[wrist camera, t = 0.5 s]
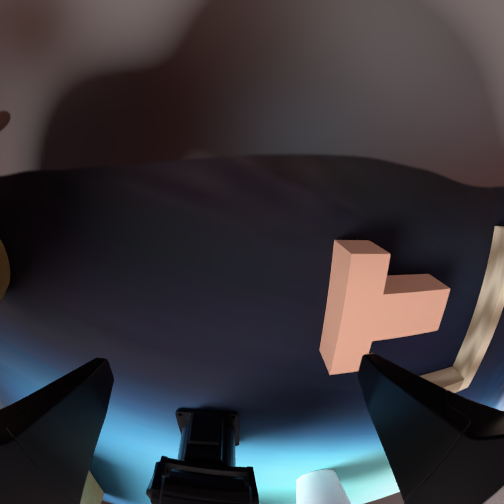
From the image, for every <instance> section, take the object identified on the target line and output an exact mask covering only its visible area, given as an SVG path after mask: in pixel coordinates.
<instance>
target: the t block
mask: <svg viewBox="0 0 504 504" xmlns="http://www.w3.org/2000/svg"><path fill="white" fill-rule="evenodd" d="M389 260H390V253H388V252H387V251H385V250H384V249H382V248H381V247H379V246H378V245H376V244H374V243H373V242H371V241H370V240H334V248H333V258H332V267H331V275H330V284H329V291H328V299H327V306H326V313H325V319H324V326H323V332H322V338H321V344H320V349H319V350H320V352H321V355H322V357H323V360H324V362H325V365H326V367H327V369H328V372H329V374H330V375H332V374H341V373H348V372H355V371H359V367H360V363H361V359H362V356H363V355H364V354H369V350H370V347H371V343H372V341H377V340H384V339H391V338H398V337H404V336H410V335H416V334H421V333H427V332H432V331H437V330H438V328H439V325H440V322H441V319H442V316H443V313H444V309H445V306H446V303H447V299H448V296H449V292H450V288H449V287H447V286H446V285H444V284H443V283H441V282H440V281H439V280H437V279H436V278H434V277H433V276H431V275H430V274H412V275H389V276H387V272H388V266H389Z"/></svg>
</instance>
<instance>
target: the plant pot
mask: <svg viewBox="0 0 504 504" xmlns="http://www.w3.org/2000/svg"><path fill="white" fill-rule="evenodd" d="M9 282H10V266H9V260H8V256H7V253H6V250H5V248H4V245H3V243H2V241H1V240H0V302H1V300H2V298H3V296H4V294H5V292H6V290H7V288H8V285H9Z"/></svg>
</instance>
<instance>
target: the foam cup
mask: <svg viewBox="0 0 504 504" xmlns="http://www.w3.org/2000/svg"><path fill="white" fill-rule="evenodd" d="M296 483H297V484H296V504H351V503H350V501H349V499H348V497H347V495H346V493H345V491H344V489H343V487H342V485H341V483H340V481H339V479H338V477H337V474H335V471H333V470H331V469H323V470H317V471H313V472H310V473H307V474H304V475H303V476H301V477H299V478H298V479H297V480H296Z"/></svg>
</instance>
